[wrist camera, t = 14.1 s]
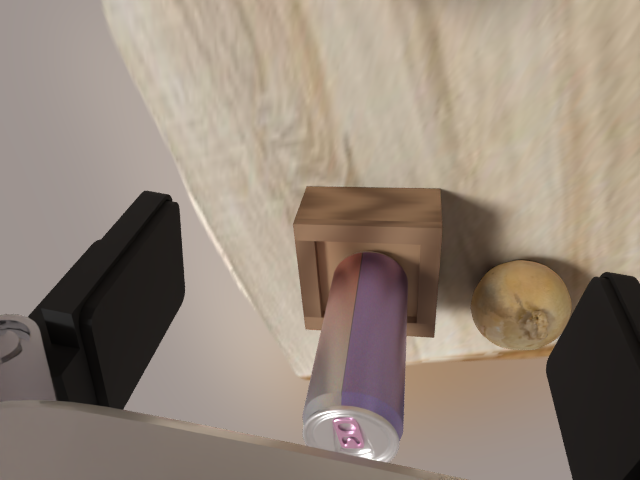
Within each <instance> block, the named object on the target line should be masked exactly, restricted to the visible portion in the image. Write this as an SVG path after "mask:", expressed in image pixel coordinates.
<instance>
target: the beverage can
mask: <svg viewBox="0 0 640 480" xmlns="http://www.w3.org/2000/svg"><path fill="white" fill-rule="evenodd" d="M407 301H408V279H407V275H406V273H405V271H404V270H403V268H402V267H401V266H400V265H399V264H398V263H397V262H396V261H395V260H394V259H392V258H391V257H389V256H387V255H385V254H382V253H379V252H373V251H364V252H359V253H355V254H353V255H351V256H349V257H347V258H345V259H344V260H343V261H341V262H340V263H339V264H338V266H337V267H336V269H335V271H334V274H333V279H332V283H331V288H330V293H329V297H328V302H327V306H326V311H325V315H324V320H323V324H322V329H321V334H320V338H319V343H318V347H317V352H316V356H315V361H314V365H313V370H312V375H311V379H310V384H309V388H308V393H307V398H306V402H305V406H304V411H303V423H304V426H303V439H304V442H305V444H306V445H307V446H309V447H314V448H319V449H324V450H329V451H334V452H338V453H343V454H348V455H353V456H358V457H363V458H367V459H372V460H377V461H382V462H387V463H388V462H389V461H391V460H392V459H393V458H394V457H395V455H396V454H397V452H398V450H399V441H400V439H401V436H402V434H403V421H404V420H403V419H404V391H405V361H406V331H407Z"/></svg>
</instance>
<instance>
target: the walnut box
mask: <svg viewBox="0 0 640 480" xmlns="http://www.w3.org/2000/svg"><path fill="white" fill-rule="evenodd" d="M293 228H294V236H295V244H296V253H297V261H298V270H299V278H300V286H301V295H302V303H303V312H304V320H305V328H306V329H309V330H321V329H322V324H323V320H324V315H325V311H326V306H327V302H328V297H329V293H330V288H331V283H332V279H333V274H334V271H335V269H336V267H337V266H338V264H339V263H340V262H341V261H343V260H344V259H345V258H347V257H349V256H351V255H353V254H355V253H359V252H364V251H373V252H379V253H382V254H385V255H387V256H389V257H391V258H392V259H394V260H395V261H396V262H397V263H398V264H399V265H400V266H401V267H402V268H403V270H404V271H405V273H406V275H407V279H408V301H407V331H406V336H417V337H432V338H434V333H435V320H436V307H437V295H438V282H439V269H440V256H441V244H442V231H443V225H442V208H441V191H440V189H426V188H366V187H307V188H306V190H305V193H304V196H303V198H302V201H301V204H300V207H299V209H298V212H297V215H296V218H295V220H294V223H293Z"/></svg>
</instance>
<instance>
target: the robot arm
mask: <svg viewBox="0 0 640 480" xmlns="http://www.w3.org/2000/svg"><path fill="white" fill-rule="evenodd" d="M182 254H183V253H182V239H181V224H180V211H179V205H178V203H177V202H172V198H171V196H170V195H168V194H162V193H156V192H151V191H144V192H142V193H141V194H140V196H139V197H138V198H137V199H136V200H135V201H134V202H133V204H132V205H131V206H130V207H129V208H128V209H127V210H126V212H125V213H124V214H123V215H122V216H121V217H120V219H119V220H118V221H117V222H116V223H115V224H114V225H113V226H112V228H111V229H110V230H109V231H108V232H107V233H106V234H105V236H104V237H103V238H102V239H101V240H97V241H96V242H94V243H93V244H92V245H91V246H90V247H89V248H88V250H87V251H86V252H85V253H84V254H83V255H82V256H81V258H80V259H79V260H78V261H77V262H76V263H75V264H74V265H73V267H72V268H71V269H70V270H69V271H68V272H67V273H66V274H65V276H64V277H63V278H62V279H61V280H60V281H59V283H57V285H56V286H55V287H54V288H53V289H52V290H51V291H50V293H49V294H48V295H47V296H46V297H45V298H44V299H43V300H42V301H41V303H40V304H39V305H38V306H37V307H36V308H35V309H34V311H33V312H32V313H31V314H30V315H29V316H28V317H25V316H22V315H18V314H4V315H0V480H467V479H463V478H458V477H453V476H449V475H444V474H439V473H435V472H430V471H425V470H420V469H415V468H411V467H406V466H401V465H396V464H391V463H387V462H382V461H377V460H372V459H367V458H363V457H358V456H353V455H348V454H343V453H338V452H334V451H329V450H324V449H319V448H314V447H309V446H304V445H299V444H295V443H290V442H285V441H280V440H275V439H270V438H265V437H260V436H255V435H250V434H245V433H240V432H235V431H230V430H225V429H220V428H216V427H210V426H205V425H201V424H195V423H191V422H186V421H181V420H175V419H170V418H164V417H159V416H153V415H148V414H143V413H138V412H132V411H127V410H123V409H124V407H125V405H126V403H127V402H128V400H129V398H130V396H131V394H132V393H133V391H134V389H135V387H136V385H137V384H138V382H139V380H140V378H141V376H142V375H143V373H144V371H145V369H146V367H147V366H148V364H149V362H150V360H151V358H152V356H153V355H154V353H155V351H156V349H157V348H158V346H159V344H160V342H161V340H162V339H163V337H164V335H165V333H166V331H167V330H168V328H169V326H170V324H171V322H172V321H173V319H174V317H175V315H176V313H177V312H178V310H179V308H180V306H181V304H182V302H183V299H184V295H185V282H184V267H183V255H182ZM546 373H547V378H548V382H549V386H550V390H551V394H552V398H553V402H554V406H555V410H556V414H557V418H558V422H559V426H560V430H561V434H562V438H563V442H564V446H565V450H566V454H567V458H568V462H569V466H570V470H571V474H572V478H573V480H640V283H639V282H638V280H637V279H636V278H635V277H633V276H627V275H621V274H616V273H610V272H605V273H603V274H602V275H601V276H600V277H594V278H593V279H592V280H591V281H590V283H589V284H588V286H587V288H586V290H585V292H584V294H583V295H582V297H581V299H580V301H579V303H578V305H577V306H576V308H575V310H574V312H573V314H572V316H571V317H570V319H569V321H568V323H567V325H566V327H565V328H564V330H563V332H562V334H561V336H560V338H559V339H558V341H557V343H556V345H555V347H554V349H553V350H552V352H551V354H550V356H549V358H548V361H547V365H546Z"/></svg>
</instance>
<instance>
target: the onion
mask: <svg viewBox="0 0 640 480" xmlns="http://www.w3.org/2000/svg"><path fill="white" fill-rule="evenodd" d="M571 308H572V304H571V298H570V295H569V292H568V290H567V288H566V285H565V283H564V282H563V281H562V279H561V278H560V277H559V275H557V274H556V273H555V272H554V271H553V270H551V269H550V268H548V267H547V266H545V265H542V264H539V263H536V262H532V261H525V260H516V261H510V262H507V263H503V264H501V265H498V266H496V267H494V268H492V269H491V270H489V271H488V272H487V273H486V274H485V275H484V277H483V278H482V279H481V281H480V282H479V284H478V285H477V287H476V288H475V290H474V293H473V297H472V301H471V313H472V317H473V320H474V323H475V325H476V327H477V328H478V330H479V331H480V332H481V334H482V335H483V336H484V337H485V338H487V339H488V340H489V341H491V342H492V343H494V344H495V345H498V346H500V347H502V348H506V349H513V350H534V349H538V348H541V347H543V346H545V345H547V344H549V343H550V342H552V341H554V340H555V339H556V338H557V337H559V336H560V335H561V333H562V332H563V330H564V328H565V327H566V325H567V323H568V321H569V318H570V314H571Z"/></svg>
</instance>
